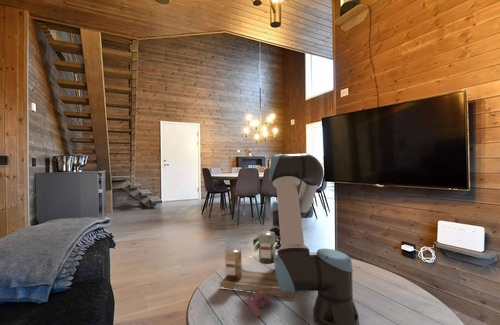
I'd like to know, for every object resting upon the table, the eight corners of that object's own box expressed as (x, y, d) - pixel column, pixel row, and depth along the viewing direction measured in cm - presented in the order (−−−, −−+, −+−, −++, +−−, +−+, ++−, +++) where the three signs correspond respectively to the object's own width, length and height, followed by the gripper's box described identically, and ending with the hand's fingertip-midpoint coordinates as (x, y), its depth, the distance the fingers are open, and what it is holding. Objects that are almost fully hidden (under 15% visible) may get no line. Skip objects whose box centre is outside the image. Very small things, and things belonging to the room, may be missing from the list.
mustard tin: (229, 273, 122) (228, 247, 122) (243, 274, 120) (243, 248, 120) (222, 280, 114) (222, 253, 114) (238, 282, 112) (237, 254, 112)
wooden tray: (293, 297, 103) (293, 290, 103) (220, 289, 111) (219, 282, 111) (296, 280, 118) (296, 273, 118) (231, 274, 126) (231, 268, 126)
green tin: (260, 257, 118) (260, 230, 118) (276, 258, 116) (276, 231, 116) (257, 264, 110) (256, 235, 110) (274, 265, 108) (273, 236, 108)
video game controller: (265, 306, 99) (259, 288, 101) (274, 305, 97) (267, 286, 99) (250, 319, 92) (243, 299, 94) (259, 317, 89) (251, 297, 91)
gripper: (295, 243, 128) (287, 260, 106) (257, 240, 134) (242, 255, 112) (295, 228, 128) (287, 242, 106) (256, 226, 134) (241, 238, 112)
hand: (264, 249), depth 109 cm, fingers closed on green tin, 7 cm apart
